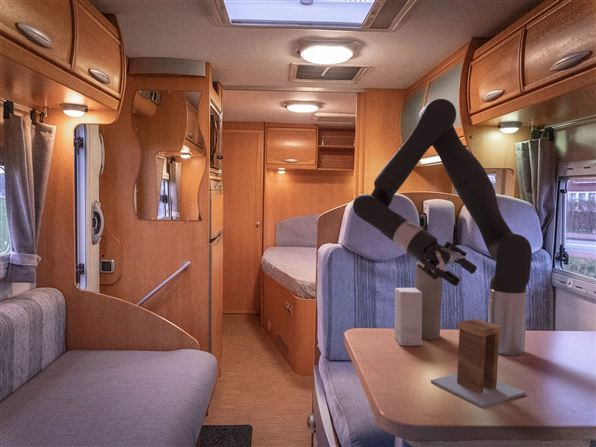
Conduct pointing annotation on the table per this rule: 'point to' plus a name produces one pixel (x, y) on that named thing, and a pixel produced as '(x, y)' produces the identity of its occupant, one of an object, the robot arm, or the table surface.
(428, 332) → the thermos bottle
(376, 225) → the robot arm
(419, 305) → the skincare box
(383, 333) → the table surface
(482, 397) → the mat
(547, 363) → the table surface
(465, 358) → the stool
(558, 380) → the table surface
